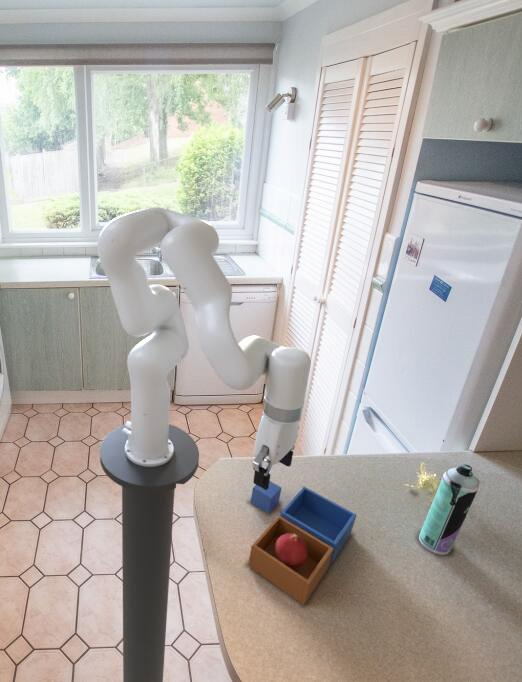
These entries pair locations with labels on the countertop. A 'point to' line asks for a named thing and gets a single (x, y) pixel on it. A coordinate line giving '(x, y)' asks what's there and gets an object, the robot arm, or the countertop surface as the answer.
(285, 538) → the onion
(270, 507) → the blue block
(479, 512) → the countertop surface
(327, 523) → the blue bin
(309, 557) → the brown bin
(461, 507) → the spray can
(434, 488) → the pale yellow lumpy mass
